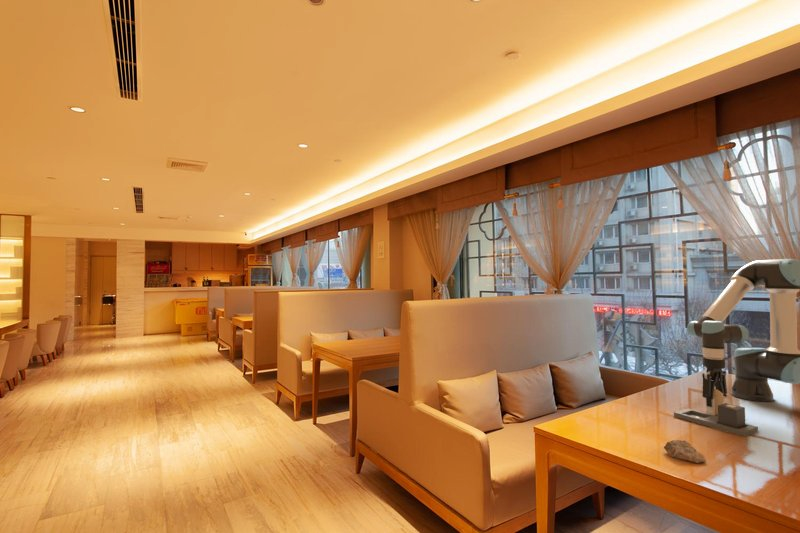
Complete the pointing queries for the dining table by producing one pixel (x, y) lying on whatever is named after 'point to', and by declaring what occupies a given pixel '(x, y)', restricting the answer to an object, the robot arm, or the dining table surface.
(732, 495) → the dining table surface
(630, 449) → the dining table surface
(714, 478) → the dining table surface
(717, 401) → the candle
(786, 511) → the dining table surface
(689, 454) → the rock
